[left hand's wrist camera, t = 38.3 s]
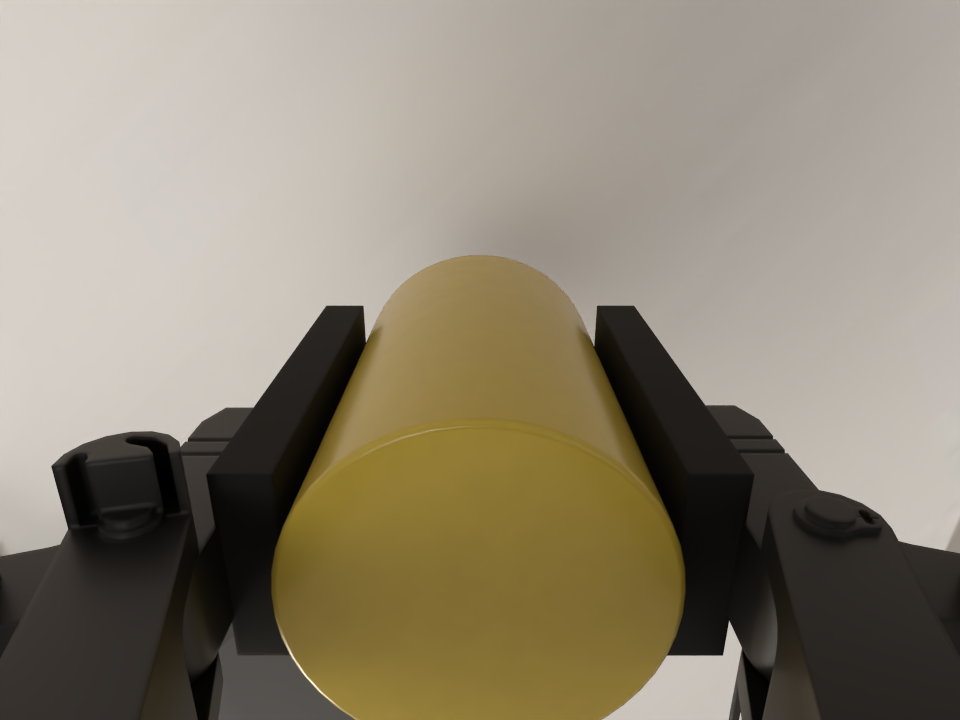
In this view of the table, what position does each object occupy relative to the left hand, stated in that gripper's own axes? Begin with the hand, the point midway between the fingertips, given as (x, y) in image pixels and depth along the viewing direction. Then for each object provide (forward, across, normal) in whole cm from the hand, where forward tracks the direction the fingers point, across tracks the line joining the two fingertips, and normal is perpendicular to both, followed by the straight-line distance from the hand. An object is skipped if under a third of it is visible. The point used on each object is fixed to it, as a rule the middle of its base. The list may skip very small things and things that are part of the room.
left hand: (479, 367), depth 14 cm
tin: (+1, 0, 0) cm, 1 cm away
